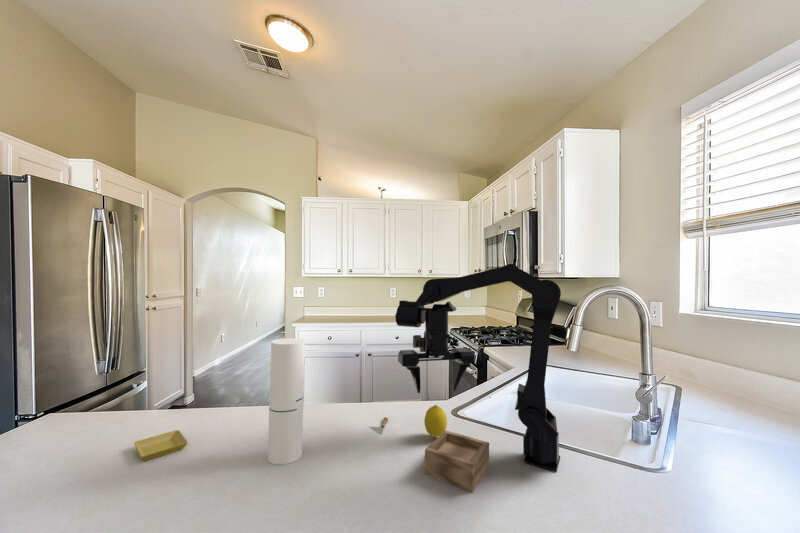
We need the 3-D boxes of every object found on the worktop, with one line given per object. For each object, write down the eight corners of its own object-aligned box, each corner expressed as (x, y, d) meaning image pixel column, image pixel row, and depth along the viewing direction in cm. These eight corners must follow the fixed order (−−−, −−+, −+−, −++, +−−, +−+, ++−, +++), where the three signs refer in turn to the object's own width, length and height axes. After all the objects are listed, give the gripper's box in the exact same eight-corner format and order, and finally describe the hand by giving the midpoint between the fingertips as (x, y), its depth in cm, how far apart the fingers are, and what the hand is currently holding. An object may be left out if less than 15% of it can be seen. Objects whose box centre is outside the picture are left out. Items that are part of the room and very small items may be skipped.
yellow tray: (188, 451, 74) (188, 441, 74) (140, 467, 67) (140, 456, 67) (178, 438, 80) (178, 429, 80) (133, 451, 73) (133, 441, 73)
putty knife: (359, 445, 78) (379, 447, 78) (358, 440, 78) (379, 441, 78) (371, 420, 92) (388, 420, 91) (371, 415, 92) (388, 416, 91)
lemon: (448, 443, 78) (448, 409, 78) (424, 443, 78) (425, 409, 78) (445, 433, 84) (445, 401, 84) (423, 432, 84) (424, 400, 84)
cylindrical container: (308, 451, 74) (311, 340, 75) (285, 467, 67) (288, 345, 68) (284, 444, 77) (287, 337, 78) (260, 459, 70) (264, 342, 71)
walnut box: (489, 466, 69) (489, 442, 69) (472, 492, 60) (472, 464, 60) (445, 452, 74) (445, 430, 74) (424, 474, 65) (425, 449, 66)
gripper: (458, 323, 92) (458, 379, 91) (394, 325, 88) (393, 383, 87) (476, 329, 81) (476, 393, 80) (403, 331, 77) (402, 398, 76)
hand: (436, 391), depth 81 cm, fingers open, 9 cm apart
